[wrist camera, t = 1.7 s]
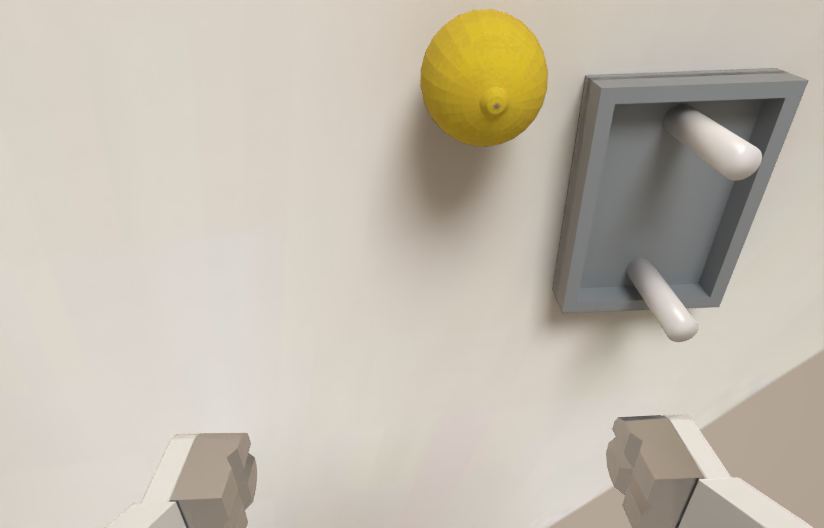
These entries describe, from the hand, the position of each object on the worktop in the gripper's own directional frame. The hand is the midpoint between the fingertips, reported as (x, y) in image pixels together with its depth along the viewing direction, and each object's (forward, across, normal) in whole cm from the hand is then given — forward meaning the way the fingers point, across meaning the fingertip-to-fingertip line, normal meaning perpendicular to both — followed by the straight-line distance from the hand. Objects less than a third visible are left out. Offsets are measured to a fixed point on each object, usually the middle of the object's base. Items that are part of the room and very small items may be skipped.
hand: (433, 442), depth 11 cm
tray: (+20, -15, +3) cm, 25 cm away
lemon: (+20, -3, -5) cm, 21 cm away
